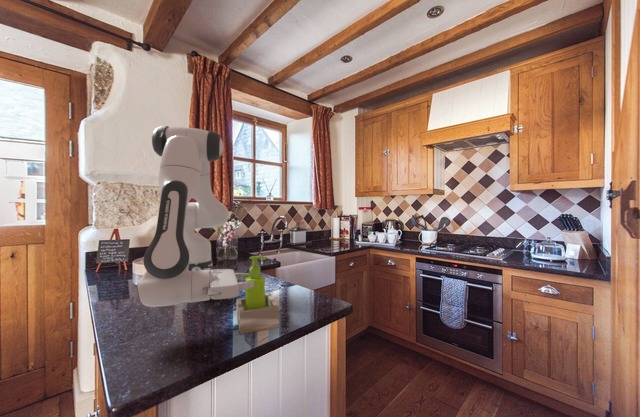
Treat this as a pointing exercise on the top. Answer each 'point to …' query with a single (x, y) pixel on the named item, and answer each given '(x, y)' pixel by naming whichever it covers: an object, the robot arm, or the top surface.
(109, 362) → the top surface
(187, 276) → the robot arm
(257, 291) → the soap dispenser
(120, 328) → the top surface
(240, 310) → the box
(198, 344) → the top surface
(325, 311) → the top surface
